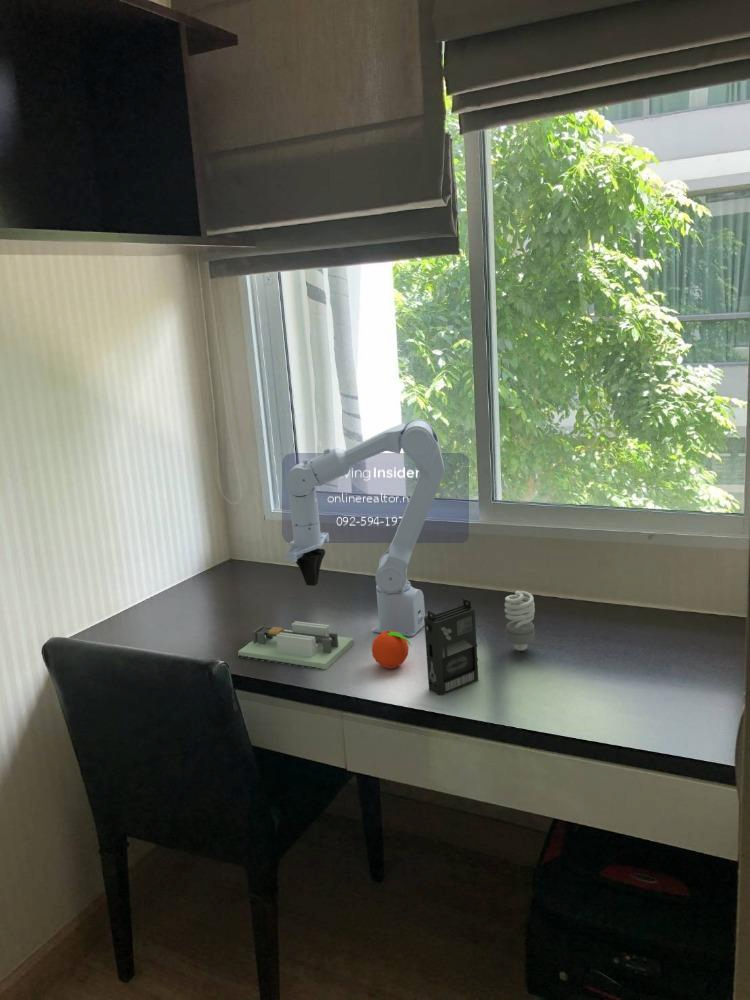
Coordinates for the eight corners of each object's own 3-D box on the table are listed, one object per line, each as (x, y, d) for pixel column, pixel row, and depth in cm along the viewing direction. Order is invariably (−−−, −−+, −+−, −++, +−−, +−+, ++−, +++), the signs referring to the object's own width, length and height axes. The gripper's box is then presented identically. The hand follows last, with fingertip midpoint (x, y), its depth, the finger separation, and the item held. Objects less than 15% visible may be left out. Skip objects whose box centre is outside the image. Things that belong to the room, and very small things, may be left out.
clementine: (420, 661, 153) (418, 626, 151) (406, 677, 147) (403, 641, 145) (382, 656, 157) (379, 622, 155) (367, 671, 151) (363, 636, 149)
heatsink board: (354, 643, 163) (352, 622, 162) (325, 669, 153) (323, 647, 152) (271, 633, 172) (268, 612, 171) (238, 656, 161) (236, 635, 160)
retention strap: (334, 640, 159) (334, 634, 159) (329, 644, 157) (328, 638, 157) (264, 631, 166) (264, 625, 166) (259, 635, 164) (258, 629, 164)
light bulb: (533, 658, 151) (531, 598, 148) (503, 656, 153) (501, 596, 150) (538, 645, 156) (536, 587, 153) (509, 643, 158) (507, 586, 155)
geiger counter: (467, 669, 148) (463, 593, 145) (483, 678, 145) (479, 600, 141) (422, 687, 143) (416, 609, 139) (438, 697, 139) (432, 616, 135)
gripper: (306, 512, 174) (312, 571, 177) (270, 531, 161) (277, 594, 164) (335, 513, 171) (340, 573, 174) (300, 533, 158) (307, 598, 161)
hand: (312, 584), depth 169 cm, fingers closed
